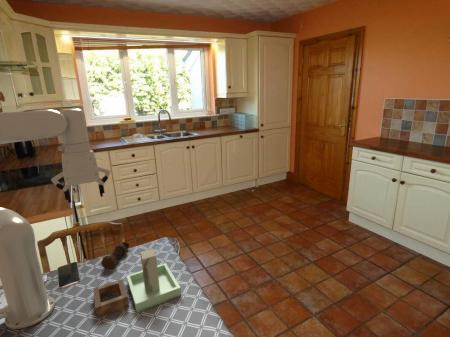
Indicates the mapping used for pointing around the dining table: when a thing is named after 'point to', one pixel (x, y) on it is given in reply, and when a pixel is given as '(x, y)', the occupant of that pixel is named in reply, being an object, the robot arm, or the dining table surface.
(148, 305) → the tray
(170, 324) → the dining table surface
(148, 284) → the box
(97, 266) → the dining table surface
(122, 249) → the bolt
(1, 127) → the robot arm
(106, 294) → the frame
